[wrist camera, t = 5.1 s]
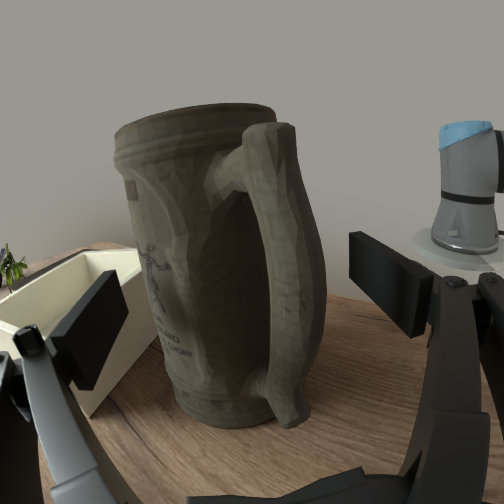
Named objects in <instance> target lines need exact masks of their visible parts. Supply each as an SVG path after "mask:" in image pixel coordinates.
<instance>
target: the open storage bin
mask: <svg viewBox="0 0 504 504" xmlns="http://www.w3.org/2000/svg"><path fill="white" fill-rule="evenodd" d="M114 269H116V272H117V276H118V279H119V282H120V286H121V289H122V292H123V295H124V298H125V301H126V304H127V307H128V310H129V314H128V316H127V318H126V320H125V322H124V324H123V326H122V328H121V330H120V332H119V334H118V336H117V338H116V341H115V343H114V345H113V347H112V349H111V351H110V353H109V356H108V358H107V360H106V362H105V364H104V367H103V369H102V371H101V373H100V376H99V378H98V380H97V383H96V385H95V387H94V390H93V391H82V390H78V388H77V387H76V385H75V384H74V382H73V380H72V382H71V384H70V386H69V387H70V388H71V390H72V391H73V393H74V395H75V397H76V399H77V402H78V404H79V406H80V408H81V410H82V411H83V413H84V415H85V417H87V418H89V417H90V416H91V415H92V414H93V413H94V411H95V410H96V409H97V408H98V406H99V405H100V404H101V403H102V402H103V400H104V399H105V398H106V397H107V395H108V394H109V393H110V392H111V391H112V389H113V388H114V387H115V386H116V384H117V383H118V382H119V381H120V380H121V378H122V377H123V376H124V375H125V374H126V372H127V371H128V370H129V369H130V368H131V366H132V365H133V364H134V363H135V362H136V360H137V359H138V358H139V357H140V356H141V354H142V353H143V352H144V351H145V350H146V349H147V347H148V346H149V345H150V344H151V343H152V341H153V340H154V339H155V338H156V337H157V335H158V331H157V327H156V324H155V320H154V316H153V312H152V309H151V305H150V301H149V297H148V293H147V289H146V285H145V281H144V277H143V273H142V269H141V265H140V261H139V256H138V252H137V248H134V249H117V250H100V251H84V252H82V253H80V254H79V255H77V256H75V257H73V258H71V259H69V260H68V261H66V262H64V263H62V264H61V265H59V266H57V267H55V268H53V269H52V270H50V271H48V272H47V273H45V274H43V275H41V276H40V277H38V278H36V279H35V280H33V281H31V282H30V283H28V284H26V285H25V286H23V287H22V288H20V289H18V290H17V291H15V292H13V293H12V294H10V295H9V296H7V297H6V298H4V299H3V300H1V301H0V351H8V352H9V354H10V356H11V358H12V359H13V360H15V359H19V358H21V355H20V353H19V351H18V350H17V348H16V346H15V344H14V342H13V340H12V337H13V335H14V333H15V332H16V331H18V330H19V329H21V328H22V327H24V326H27V325H32V324H34V325H37V327H38V329H39V331H40V333H41V335H42V337H43V339H44V341H45V339H46V338H47V337H48V335H49V334H50V333H51V332H52V331H53V329H54V328H55V327H56V326H57V324H58V323H59V321H60V320H61V319H62V318H63V317H65V316H66V315H67V314H68V312H69V311H70V310H71V309H72V308H73V306H74V305H75V304H76V303H77V301H78V300H79V299H80V298H81V297H82V296H83V294H84V293H85V292H86V291H87V290H88V289H89V287H90V286H91V285H92V284H93V283H94V282H95V281H96V279H97V278H98V277H99V276H100V275H101V274H102V273H103V272H104V271H107V270H114Z"/></svg>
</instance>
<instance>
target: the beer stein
mask: <svg viewBox="0 0 504 504" xmlns="http://www.w3.org/2000/svg"><path fill="white" fill-rule="evenodd" d="M114 164H115V167H116V169H117V170H118V171H119V173H120V174H121V175H122V176H123V179H124V183H125V189H126V194H127V200H128V205H129V211H130V216H131V223H132V228H133V233H134V238H135V243H136V247H137V252H138V256H139V261H140V265H141V269H142V273H143V277H144V281H145V285H146V289H147V293H148V297H149V301H150V305H151V309H152V312H153V316H154V320H155V324H156V327H157V331H158V334H159V338H160V341H161V345H162V348H163V351H164V355H165V360H164V364H165V368H166V371H167V373H168V375H169V377H170V379H171V381H172V386H173V393H174V395H175V398H176V400H177V402H178V404H179V405H180V407H181V408H182V409H183V410H184V412H185V413H187V414H188V415H189V416H190V417H192V418H194V419H195V420H197V421H199V422H202V423H204V424H207V425H210V426H213V427H217V428H243V427H248V426H254V425H257V424H260V423H262V422H264V421H266V420H269V419H271V418H273V417H275V416H276V417H277V419H278V421H279V422H280V424H281V426H283V427H284V428H285V429H289V428H293V427H296V426H298V425H299V424H301V423H303V422H304V421H306V420H307V419H308V418H309V417H310V414H311V410H310V408H309V406H308V404H307V402H306V400H305V397H304V394H303V383H304V380H305V377H306V375H307V374H308V372H309V370H310V368H311V366H312V364H313V362H314V359H315V357H316V355H317V353H318V350H319V347H320V343H321V339H322V336H323V330H324V321H325V312H326V298H327V285H326V270H325V261H324V256H323V251H322V245H321V240H320V237H319V233H318V229H317V226H316V223H315V219H314V216H313V213H312V209H311V206H310V203H309V199H308V196H307V193H306V190H305V187H304V184H303V181H302V176H301V172H300V167H299V163H298V159H297V147H296V135H295V127H294V126H292V125H290V124H289V123H281V122H277V119H276V115H275V112H274V111H273V110H272V109H271V108H270V107H267V106H263V105H259V104H250V103H218V104H208V105H199V106H191V107H185V108H180V109H175V110H169V111H166V112H162V113H158V114H154V115H151V116H148V117H145V118H142V119H139V120H137V121H134V122H132V123H129V124H127V125H124V126H123V127H122V128H120V129H119V130H118V131H117V132H116V133H115V152H114Z"/></svg>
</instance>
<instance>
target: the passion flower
mask: <svg viewBox="0 0 504 504" xmlns="http://www.w3.org/2000/svg"><path fill="white" fill-rule="evenodd" d="M7 250H8V251H7ZM8 254H9V255H8ZM12 259H13V256H12V254H11V252H10V251H9V249H8V244H7V243H6V244H5V249H2V250H1V253H0V288H1V286H2V276H3V277H5V274H6V279H7V282H8V284H9V286H11V285H12V284H13V276H12V272H11V268H12V270H13V273H14V274H13V275H14V277H15V280H16V282H18V281H19V279H20V278H21V277H22V276H23V277H24V275H23V271H22V268H28V267H27V266H26V260H25V257H23V259H22V261H23V260H24V263H25V264H23V263H21V262H19V263H15V261H14V259H13V261H12ZM13 262H14V263H13ZM7 264H10V265H9V267H8V266H6V265H7ZM5 267H8V268H7V269H6V272H5ZM4 273H5V274H4Z"/></svg>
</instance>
